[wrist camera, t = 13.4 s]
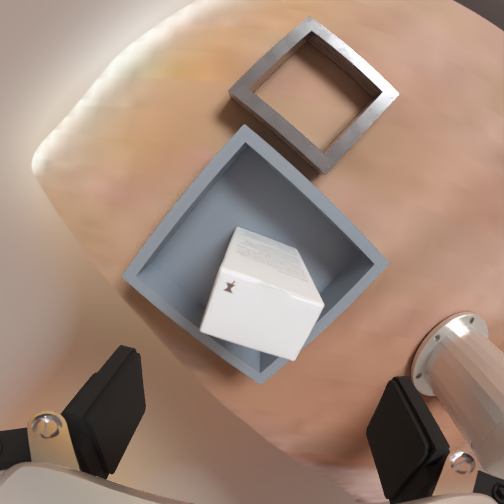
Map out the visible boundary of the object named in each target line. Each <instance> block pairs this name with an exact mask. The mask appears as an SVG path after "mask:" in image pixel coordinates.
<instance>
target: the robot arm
mask: <svg viewBox="0 0 504 504" xmlns="http://www.w3.org/2000/svg"><path fill="white" fill-rule="evenodd" d="M411 379H412V381H411ZM411 379H410V378H409V377H408V376H400V377H394V378H393V379H392V380H390V381H389V382H388V384H387V386H386V388H385V391H384V393H383V395H382V397H381V400H380V402H379V404H378V406H377V408H376V411H375V413H374V415H373V417H372V419H371V421H370V423H369V425H368V427H367V430H366V435H367V439H368V442H369V445H370V448H371V452H372V455H373V458H374V461H375V465H376V468H377V471H378V475H379V478H380V481H381V485H382V488H383V492H384V495H385V498H386V499H389V501H390V504H504V480H503V479H500V478H504V353H503V352H502V351H501V350H500V349H499V348H498V347H496V346H495V345H494V344H493V343H492V342H491V341H490V340H488V328H487V325H486V322H485V321H484V320H483V319H482V318H481V317H480V316H478V315H477V314H475V313H473V312H461V313H457V314H455V315H452V316H450V317H448V318H447V319H445V320H444V321H442V322H441V323H440V324H438V325H437V326H436V327H435V328H434V329H433V330H432V331H431V332H430V333H429V334H428V336H427V337H426V338H425V339H424V340H423V342H422V344H421V345H420V347H419V348H418V350H417V352H416V354H415V356H414V359H413V362H412V366H411ZM412 382H413V383H412ZM417 390H418V391H419V392H420V393H421V394H424V395H427V396H436V397H437V398H438V400H439V401H440V403H441V404H442V406H443V407H444V408H445V410H446V411H447V413H448V414H449V416H450V418H451V419H452V421H453V422H454V424H455V425H456V427H457V428H458V430H459V431H460V433H461V434H462V436H463V438H464V439H465V441H466V442H467V444H468V446H469V447H470V449H471V450H472V452H473V454H472V453H471V452H469V451H467V450H463V449H457V450H454V451H452V452H451V453H450V451H449V447H450V446H449V444H448V442H447V440H446V438H445V437H444V435H443V433H442V431H441V430H440V428H439V426H438V424H437V423H436V421H435V419H434V417H433V416H432V414H431V412H430V411H429V409H428V407H427V406H426V404H425V402H424V401H423V399H422V397H421V396H420V394H419V392H418V391H417ZM145 407H146V404H145V396H144V388H143V378H142V368H141V357H140V354H139V353H137V352H136V350H135V348H131V347H126V346H123V345H121V346H119V347H118V348H117V350H116V351H115V352H114V353H113V354H112V356H111V357H110V358H109V359H108V360H107V362H106V363H105V364H104V365H103V366H102V368H101V369H100V370H99V371H98V372H97V373H94V374H93V375H92V376H91V377H90V378H89V380H88V381H87V382H86V383H85V385H84V386H83V387H82V388H81V389H80V391H79V392H78V393H77V394H76V396H75V397H74V398H73V399H72V400H71V402H70V403H69V404H68V405H67V407H66V408H65V409H64V411H63V412H62V413H61V414H58V413H56V412H53V411H41V412H37V413H36V414H34V415H33V416H32V417H31V418H30V419H29V421H28V424H27V428H21V429H13V430H6V431H0V504H193V503H188V502H183V501H178V500H174V499H169V498H165V497H161V496H157V495H154V494H150V493H146V492H142V491H139V490H136V489H132V488H129V487H126V486H123V485H120V484H117V483H114V482H111V481H108V480H105V479H107V477H108V475H109V473H110V474H113V473H114V472H115V470H116V468H117V466H118V464H119V462H120V460H121V458H122V456H123V454H124V452H125V450H126V448H127V446H128V444H129V442H130V440H131V438H132V436H133V434H134V432H135V430H136V428H137V426H138V424H139V422H140V420H141V418H142V416H143V414H144V412H145ZM478 462H479V463H478ZM479 464H480V465H481V466H482V468H483V470H484V471H485V472H486V473H484V472H482V471H479V470H478V469H479ZM487 473H488V474H487ZM96 476H98V477H96ZM99 477H100V478H99ZM102 478H103V479H102Z"/></svg>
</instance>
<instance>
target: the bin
mask: <svg viewBox="0 0 504 504" xmlns="http://www.w3.org/2000/svg"><path fill="white" fill-rule="evenodd" d="M236 227H240V228H243V229H246V230H248V231H251V232H254V233H256V234H259V235H262V236H264V237H267V238H270V239H272V240H275V241H278V242H280V243H283V244H285V245H288V246H291V247H293V248H296V249H297V250H298V252H299V254H300V256H301V258H302V260H303V262H304V264H305V266H306V268H307V270H308V272H309V274H310V276H311V278H312V280H313V282H314V284H315V286H316V288H317V290H318V292H319V294H320V296H321V298H322V300H323V302H324V308H323V310H322V312H321V314H320V316H319V317H318V319H317V321H316V323H315V325H314V327H313V329H312V331H311V332H310V334H309V336H308V338H307V340H306V342H305V343H304V345H303V347H302V349H304V348H305V347H306V346H307V345H308V344H309V343H310V342H311V341H312V340H314V339H315V338H316V337H317V336H318V335H319V334H320V333H321V332H322V331H323V330H324V329H325V328H326V327H328V326H329V325H330V324H331V323H332V322H333V321H334V320H335V319H336V318H337V317H338V316H339V315H340V314H341V313H342V312H343V311H344V310H345V309H346V308H347V307H348V306H349V305H350V304H351V303H352V302H353V301H354V300H355V299H356V298H357V297H358V296H359V295H360V294H361V293H362V292H363V291H364V290H365V289H366V288H367V287H368V286H369V285H370V284H371V283H372V282H373V281H374V280H375V279H376V278H377V276H378V275H379V274H380V273H381V272H382V271H383V270H384V269H385V268H386V267H387V266H388V265H389V262H388V260H387V259H386V258H385V257H384V256H383V255H382V254H381V253H380V252H379V251H378V249H377V248H376V247H375V246H374V245H373V244H372V243H371V242H370V241H369V240H368V239H367V238H366V237H365V236H364V235H363V233H362V232H361V231H360V230H359V229H358V228H357V227H356V226H355V225H354V224H353V223H352V222H351V221H350V220H349V219H348V218H347V217H346V216H345V215H344V214H343V213H342V212H341V211H340V210H339V209H338V208H337V207H336V206H335V205H334V204H333V203H332V202H331V201H330V200H329V199H328V198H327V197H326V196H325V195H324V194H323V193H322V192H321V191H320V190H318V189H317V188H316V187H315V186H314V185H313V184H312V183H311V182H310V181H309V180H308V179H307V178H306V177H305V176H304V175H302V174H301V173H300V172H299V171H298V170H297V169H296V168H295V167H294V166H293V165H292V164H290V163H289V162H288V161H287V160H286V159H285V158H284V157H283V156H281V155H280V154H279V153H278V152H277V151H276V150H275V149H274V148H272V147H271V146H270V145H269V144H268V143H267V142H265V141H264V140H263V139H262V138H261V137H260V136H258V135H257V134H256V133H255V132H254V131H252V130H251V129H250V128H249V127H248V126H246V125H245V124H244V125H243V126H242V127H241V128H240V129H239V130H238V131H237V132H236V133H235V134H234V136H233V137H232V138H231V139H230V140H229V141H228V142H227V143H226V144H225V146H224V147H223V148H222V149H221V150H220V151H219V152H218V153H217V155H216V156H215V157H214V158H213V159H212V160H211V162H210V163H209V164H208V165H207V166H206V167H205V169H204V170H203V171H202V172H201V173H200V174H199V176H198V177H197V178H196V179H195V180H194V182H193V183H192V184H191V185H190V186H189V188H188V189H187V190H186V191H185V193H184V194H183V195H182V196H181V198H180V199H179V200H178V201H177V203H176V204H175V205H174V206H173V208H172V209H171V210H170V211H169V213H168V214H167V215H166V217H165V218H164V219H163V220H162V222H161V223H160V224H159V226H158V227H157V228H156V230H155V231H154V232H153V234H152V235H151V236H150V238H149V239H148V240H147V242H146V243H145V244H144V246H143V247H142V248H141V250H140V251H139V253H138V254H137V255H136V257H135V258H134V260H133V261H132V262H131V264H130V265H129V267H128V268H127V269H126V271H125V272H124V274H123V275H122V278H123V279H124V280H126V281H127V282H128V283H129V284H130V285H131V286H132V287H133V288H135V289H136V290H137V291H138V292H139V293H140V294H142V295H143V296H144V297H145V298H146V299H147V300H149V301H150V302H151V303H152V304H153V305H154V306H156V307H157V308H158V309H159V310H160V311H162V312H163V313H164V314H165V315H167V316H168V317H169V318H170V319H172V320H173V321H174V322H175V323H177V324H178V325H179V326H180V327H182V328H183V329H184V330H185V331H187V332H188V333H189V334H191V335H192V336H193V337H194V338H196V339H197V340H198V341H200V342H201V343H202V344H204V345H205V346H206V347H208V348H209V349H210V350H212V351H213V352H214V353H216V354H217V355H219V356H220V357H221V358H223V359H224V360H225V361H227V362H228V363H230V364H231V365H232V366H234V367H235V368H237V369H238V370H240V371H241V372H242V373H244V374H245V375H247V376H248V377H250V378H251V379H253V380H254V381H256V382H257V383H259V384H260V385H261V384H262V383H264V382H265V381H266V380H267V379H269V378H270V377H271V376H272V375H273V374H275V373H276V372H277V371H278V370H279V369H281V368H282V367H283V366H284V365H285V364H286V363H288V362H289V361H290V360H288V359H285V358H281V357H278V356H274V355H271V354H267V353H264V352H261V351H257V350H254V349H251V348H247V347H244V346H241V345H238V344H235V343H231V342H228V341H225V340H222V339H219V338H216V337H213V336H211V335H208V334H205V333H202V332H200V325H201V322H202V319H203V316H204V313H205V309H206V306H207V303H208V300H209V297H210V294H211V291H212V288H213V285H214V282H215V279H216V276H217V273H218V270H219V268H220V266H221V263H222V261H223V259H224V256H225V253H226V251H227V248H228V245H229V243H230V240H231V238H232V235H233V233H234V230H235V228H236ZM302 349H301V350H302ZM301 350H300V351H301Z"/></svg>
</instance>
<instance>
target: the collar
mask: <svg viewBox="0 0 504 504" xmlns="http://www.w3.org/2000/svg"><path fill="white" fill-rule="evenodd" d="M307 41H308V42H309V43H311V44H312V45H313V46H315V47H316V48H317V49H318V50H320V51H321V52H322V53H323V54H325V55H326V56H327V57H328V58H329V59H331V60H332V61H333V62H334V63H335V64H337V65H338V66H339V67H340V68H341V69H342V70H344V71H345V72H346V73H347V74H348V75H349V76H350V77H351V78H353V79H354V80H355V81H356V82H357V83H358V84H359V85H360V86H361V87H362V88H363V89H364V90H365V91H367V92H368V93H369V94H370V95H371V96H372V97H373V99H372V100H371V101H370V102H369V103H368V104H367V105H366V106H365V107H364V108H363V110H362V111H361V112H360V113H359V114H358V115H357V116H356V117H355V118H354V119H353V120H352V121H351V122H350V123H349V124H348V126H347V127H346V128H345V129H344V130H343V131H342V132H341V133H340V134H339V135H338V136H337V137H336V138H335V139H334V140H333V142H332V143H331V144H330V145H329V146H328V147H327V148H326V149H325V150H324V151H323V152H321V151H320V150H319V149H318V148H317V147H316V146H315V145H314V144H313V143H312V142H311V141H309V140H308V139H307V138H306V137H305V136H304V135H303V134H302V133H301V132H299V131H298V130H297V129H296V128H295V127H294V126H293V125H291V124H290V123H289V122H288V121H287V120H286V119H284V118H283V117H282V116H281V115H280V114H279V113H277V112H276V111H275V110H274V109H273V108H271V107H270V106H269V105H268V104H266V103H265V102H264V101H263V100H262V99H260V98H259V97H258V96H257V95H255V94H254V93H253V92H254V91H255V90H256V89H257V88H258V87H259V86H260V85H261V84H262V83H263V82H264V81H265V80H266V79H268V78H269V77H270V76H271V75H272V74H273V73H274V72H275V71H276V70H277V69H278V68H279V67H280V66H281V65H282V64H283V63H284V62H285V61H286V60H287V59H289V58H290V57H291V56H292V55H293V54H294V53H295V52H296V51H297V50H298V49H300V48H301V47H302V46H303V45H304V44H305V43H306V42H307ZM228 92H229V95H230V97H231V99H233V100H234V101H235V102H237V103H238V104H239V105H240V106H242V107H243V108H244V109H245V110H247V111H248V112H249V113H250V114H252V115H253V116H254V117H255V118H256V119H258V120H259V121H260V122H261V123H262V124H264V125H265V126H266V127H267V128H268V129H270V130H271V131H272V132H273V133H274V134H275V135H277V136H278V137H279V138H280V139H281V140H282V141H283V142H285V143H286V144H287V145H288V146H289V147H290V148H291V149H292V150H294V151H295V152H296V153H297V154H298V155H299V156H300V157H301V158H302V159H304V160H305V161H306V162H307V163H308V164H309V165H310V166H311V167H312V168H313V169H314V170H315V171H316V172H317V173H319V174H320V175H326V174H327V172H328V171H329V170H330V169H331V168H332V167H333V166H334V165H335V164H336V163H337V162H338V160H339V159H340V158H341V157H342V156H343V155H344V154H345V153H346V152H347V151H348V150H349V148H350V147H351V146H352V145H353V144H354V143H355V142H356V141H357V140H358V139H359V138H360V136H361V135H362V134H363V133H364V132H365V131H366V130H367V129H368V128H369V127H370V126H371V124H372V123H373V122H374V121H375V120H376V119H377V118H378V117H379V116H380V115H381V113H382V112H383V111H384V110H385V109H386V108H387V107H388V106H389V105H390V104H391V103H392V101H393V100H394V99H395V98H396V97H397V96H398V95H399V93H398V92H397V91H396V90H395V89H394V88H393V87H392V86H391V85H390V84H389V83H388V82H387V81H386V80H385V79H384V78H383V77H382V76H381V75H380V74H379V73H378V72H377V71H376V70H375V69H374V68H372V67H371V66H370V65H369V64H368V63H367V62H366V61H365V60H364V59H363V58H361V57H360V56H359V55H358V54H357V53H356V52H355V51H353V50H352V49H351V48H350V47H349V46H347V45H346V44H345V43H344V42H343V41H341V40H340V39H339V38H338V37H336V36H335V35H334V34H333V33H331V32H330V31H329V30H327V29H326V28H325V27H323V26H322V25H321V24H319V23H318V22H317V21H315V20H314V19H313V18H311V17H310V16H309V17H308V18H307V19H305V20H304V21H303V22H302V23H301V24H299V25H298V26H297V27H296V28H295V29H293V30H292V31H291V32H290V33H289V34H287V35H286V36H285V37H284V38H283V39H282V40H281V41H279V42H278V43H277V44H276V45H275V46H274V47H273V48H272V49H271V50H269V51H268V52H267V53H266V54H265V55H264V56H263V57H262V58H261V59H260V60H259V61H258V62H257V63H255V64H254V65H253V66H252V67H251V68H250V69H249V70H248V71H247V72H246V73H245V74H244V75H243V76H242V77H241V78H240V79H239V80H238V81H237V82H236V83H235V84H234V85H233V86H232V87H231V88H230V89H229V90H228Z"/></svg>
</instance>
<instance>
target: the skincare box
mask: <svg viewBox="0 0 504 504" xmlns="http://www.w3.org/2000/svg"><path fill="white" fill-rule="evenodd" d="M323 308H324V302H323V300H322V298H321V296H320V294H319V292H318V290H317V288H316V286H315V284H314V282H313V280H312V278H311V276H310V274H309V272H308V270H307V268H306V266H305V264H304V262H303V260H302V258H301V256H300V254H299V252H298V250H297V249H296V248H293V247H291V246H288V245H285V244H283V243H280V242H278V241H275V240H272V239H270V238H267V237H264V236H262V235H259V234H256V233H254V232H251V231H248V230H246V229H243V228H240V227H236V228H235V230H234V233H233V235H232V238H231V240H230V243H229V245H228V248H227V251H226V253H225V256H224V259H223V261H222V263H221V266H220V268H219V270H218V273H217V276H216V279H215V282H214V285H213V288H212V291H211V294H210V297H209V300H208V303H207V306H206V309H205V313H204V316H203V319H202V322H201V325H200V332H202V333H205V334H208V335H211V336H213V337H216V338H219V339H222V340H225V341H228V342H231V343H235V344H238V345H241V346H244V347H247V348H251V349H254V350H257V351H261V352H264V353H267V354H271V355H274V356H278V357H281V358H285V359H288V360H291V361H295V359H296V357H297V356H298V354H299V352H300V350H301V349H302V347H303V345H304V343H305V342H306V340H307V338H308V336H309V334H310V332H311V331H312V329H313V327H314V325H315V323H316V321H317V319H318V317H319V316H320V314H321V312H322V310H323Z"/></svg>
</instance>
